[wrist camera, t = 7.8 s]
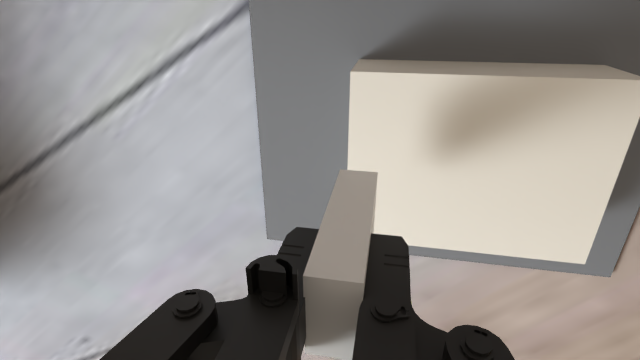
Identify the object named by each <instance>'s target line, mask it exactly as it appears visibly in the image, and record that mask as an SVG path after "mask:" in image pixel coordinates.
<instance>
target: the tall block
mask: <svg viewBox="0 0 640 360" xmlns="http://www.w3.org/2000/svg"><path fill="white" fill-rule="evenodd" d="M639 118H640V76H638V75H635V74H632V73H629V72H625V71H622V70H619V69H616V68H613V67H610V66H607V65H587V64H544V63H501V62H459V61H416V60H373V59H359V60H358V62H357V63H356V64H355V66H354V67H353V69H352V70H351V71H350V100H349V133H348V166H347V170H355V171H368V172H378V177H377V191H376V206H375V220H374V233H373V234H383V235H393V236H402V237H403V239H404V240H405V242H406V243H407V245H410V246H419V247H428V248H437V249H447V250H456V251H465V252H475V253H484V254H493V255H503V256H512V257H521V258H530V259H540V260H549V261H558V262H568V263H577V264H585V263H586V260H587V257H588V255H589V252H590V249H591V247H592V244H593V241H594V239H595V236H596V233H597V231H598V228H599V225H600V223H601V220H602V217H603V214H604V212H605V209H606V206H607V204H608V201H609V198H610V196H611V193H612V190H613V188H614V185H615V182H616V180H617V177H618V174H619V172H620V169H621V166H622V163H623V161H624V158H625V155H626V153H627V150H628V147H629V145H630V142H631V139H632V137H633V134H634V131H635V129H636V126H637V123H638V120H639Z"/></svg>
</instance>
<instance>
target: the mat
mask: <svg viewBox="0 0 640 360" xmlns="http://www.w3.org/2000/svg"><path fill="white" fill-rule="evenodd" d="M249 11H250V24H251V37H252V50H253V62H254V75H255V88H256V101H257V114H258V127H259V140H260V153H261V166H262V179H263V192H264V205H265V218H266V231H267V239H272V240H281V241H284V239H285V237H286V235H287V234H288V233H289V232H291V231H292V230H293V229H294V228H296V227H304V228H314V229H319V228H320V226H321V223H322V220H323V217H324V214H325V211H326V208H327V206H328V203H329V200H330V197H331V194H332V191H333V188H334V186H335V183H336V180H337V177H338V174H339V171H340V169H341V170H347V166H348V133H349V100H350V71H351V70H352V69H353V67H354V66H355V64H356V63H357V62H358V60H359V59H373V60H416V61H459V62H501V63H544V64H587V65H607V66H610V67H613V68H616V69H619V70H622V71H625V72H629V73H632V74H635V75H638V76H640V0H249ZM639 207H640V118H639V120H638V123H637V126H636V129H635V131H634V134H633V137H632V139H631V142H630V145H629V147H628V150H627V153H626V155H625V158H624V161H623V163H622V166H621V169H620V172H619V174H618V177H617V180H616V182H615V185H614V188H613V190H612V193H611V196H610V198H609V201H608V204H607V206H606V209H605V212H604V214H603V217H602V220H601V223H600V225H599V228H598V231H597V233H596V236H595V239H594V241H593V244H592V247H591V249H590V252H589V255H588V257H587V260H586V263H585V264H577V263H568V262H558V261H549V260H540V259H530V258H521V257H512V256H503V255H493V254H484V253H475V252H465V251H456V250H447V249H437V248H428V247H419V246H410V245H408V246H409V255H415V256H424V257H433V258H442V259H451V260H460V261H469V262H478V263H486V264H495V265H504V266H513V267H522V268H531V269H540V270H549V271H558V272H567V273H576V274H585V275H594V276H603V277H611V274H612V272H613V270H614V267H615V265H616V262H617V260H618V258H619V255H620V253H621V250H622V248H623V246H624V243H625V241H626V238H627V236H628V234H629V231H630V229H631V226H632V224H633V221H634V219H635V217H636V214H637V212H638V209H639Z"/></svg>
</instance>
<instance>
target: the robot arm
mask: <svg viewBox="0 0 640 360" xmlns="http://www.w3.org/2000/svg"><path fill="white" fill-rule="evenodd" d="M377 177H378V172H368V171H355V170H341V169H340V171H339V174H338V177H337V180H336V183H335V186H334V188H333V191H332V194H331V197H330V200H329V203H328V206H327V208H326V211H325V214H324V217H323V220H322V223H321V226H320V228H319V229H314V228H304V227H296V228H294V229H293V230H292V231H291V232H289V233H288V234H287V235H286V237H285V239H284V241H283V243H282V246H281V248H280V250H279V252H278V254H277V255H268V256H264V257H260V258H258V259H256V260H254V261H252V262H251V263H250V264H249V265H248V266H247V267H246V276H247V285H248V296H247V297H245V298H243V299H239V300H234V301H226V302H217V303H216V302H215V299H214V297H213V295H212V294H211V293H209V292H207V291H206V290H200V289H192V290H186V291H183V292H180V293H177V294H175V295H174V296H172V297H171V298H169V299H168V300H167V301H166V302H165V303H163V304H162V305H161V306H160V307H159V308H158V309H157V310H155V311H154V312H153V313H152V314H151V315H150V316H149V317H147V318H146V319H145V320H144V321H143V322H142V323H141V324H139V325H138V326H137V327H136V328H135V329H134V330H133V331H132V332H130V333H129V334H128V335H127V336H126V337H125V338H124V339H122V340H121V341H120V342H119V343H118V344H117V345H116V346H114V347H113V348H112V349H111V350H110V351H109V352H108V353H107V354H105V355H104V356H103V357H102V358H101V359H100V360H301V354H302V351H303V347H304V344H305V354H310V355H316V356H322V357H329V358H335V359H341V360H515V359H514V358H513V356H512V354H511V353H510V351H509V349H508V348H507V346H506V345H505V344H504V343H503V342H502V340H501V339H500V338H499V337H497V336H496V335H495V334H493V333H492V332H490V331H489V330H486V329H483V328H481V327H478V326H472V325H462V326H457V327H455V328H453V329H452V330H451V331H449V332H448V333H447V332H445V331H442V330H440V329H437V328H435V327H433V326H431V325H429V324H427V323H426V322H424V321H423V320H422V319H420V318H419V316H418V315H417V314H416V313H415V312H414V310H413V308H412V305H411V295H410V268H409V246H408V245H407V243H406V242H405V240H404V239H403V237H402V236H393V235H383V234H373V233H374V220H375V206H376V191H377Z"/></svg>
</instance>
